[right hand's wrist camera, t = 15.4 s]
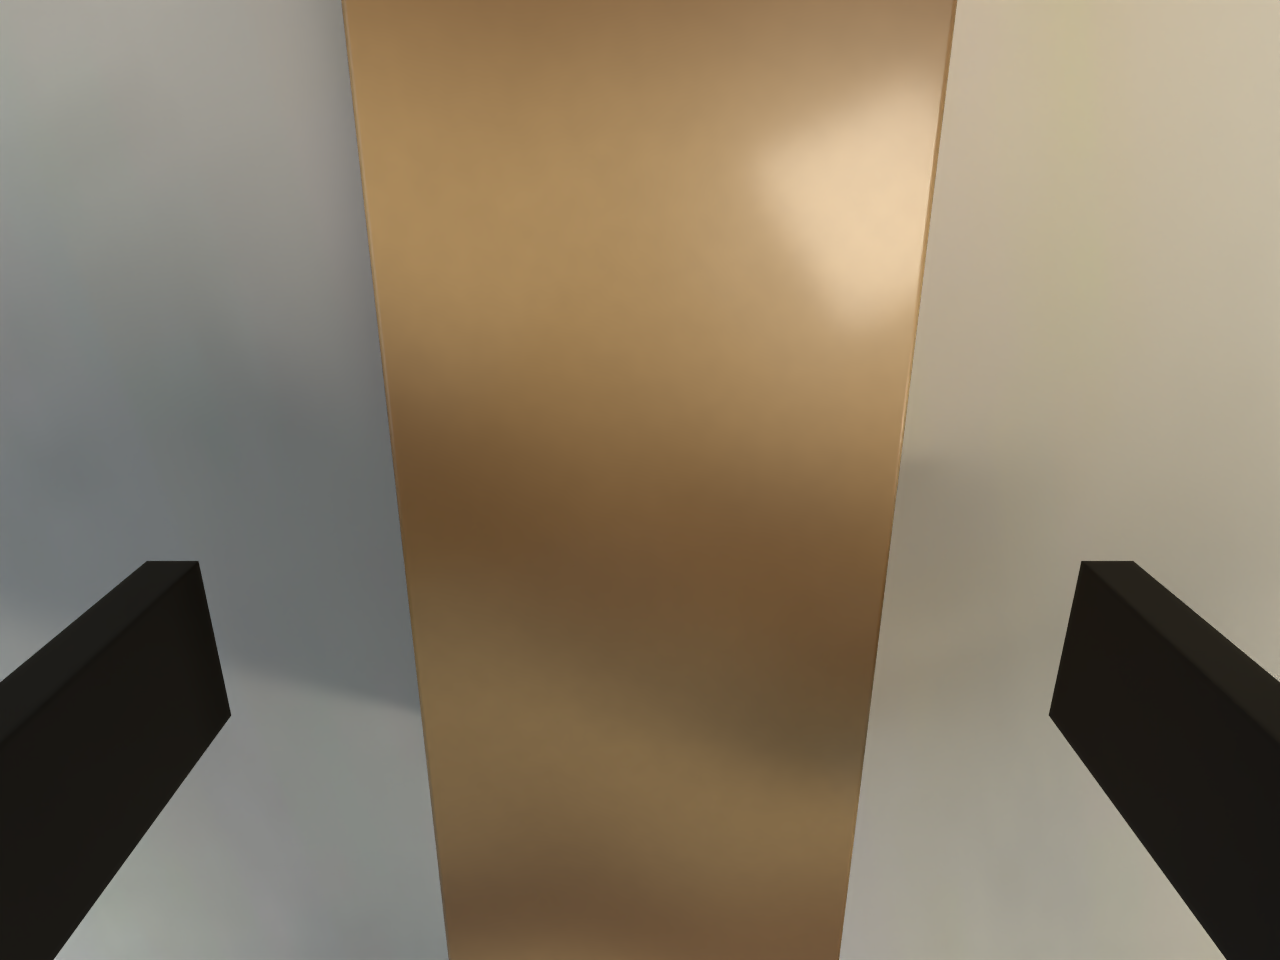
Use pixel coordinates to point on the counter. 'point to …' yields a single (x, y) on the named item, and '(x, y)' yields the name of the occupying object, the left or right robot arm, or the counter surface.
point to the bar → (646, 444)
